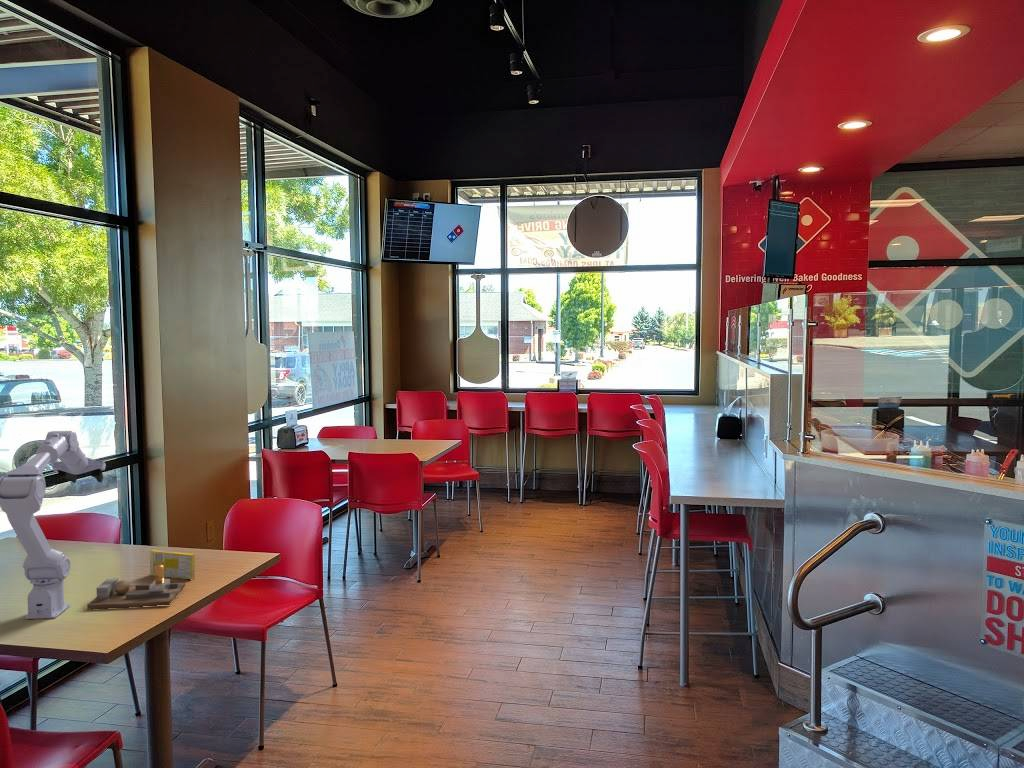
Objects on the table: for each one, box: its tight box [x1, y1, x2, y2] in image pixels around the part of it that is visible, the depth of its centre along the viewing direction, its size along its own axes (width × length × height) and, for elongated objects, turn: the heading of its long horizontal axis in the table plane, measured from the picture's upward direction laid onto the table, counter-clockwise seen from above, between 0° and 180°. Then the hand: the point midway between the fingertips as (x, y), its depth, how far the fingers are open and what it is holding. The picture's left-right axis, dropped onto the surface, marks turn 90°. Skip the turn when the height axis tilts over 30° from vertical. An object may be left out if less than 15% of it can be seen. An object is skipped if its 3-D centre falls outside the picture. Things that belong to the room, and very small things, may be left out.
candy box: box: [149, 549, 196, 580], centre depth 236 cm, size 16×2×8 cm, turn 74°
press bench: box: [86, 577, 186, 611], centre depth 217 cm, size 16×22×5 cm
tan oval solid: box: [114, 579, 131, 594], centre depth 216 cm, size 4×4×4 cm
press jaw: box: [149, 565, 171, 593], centre depth 217 cm, size 6×4×8 cm, turn 9°
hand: (88, 479), depth 231 cm, fingers open, 7 cm apart
